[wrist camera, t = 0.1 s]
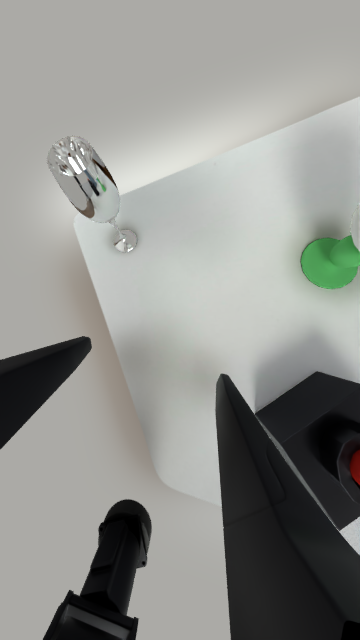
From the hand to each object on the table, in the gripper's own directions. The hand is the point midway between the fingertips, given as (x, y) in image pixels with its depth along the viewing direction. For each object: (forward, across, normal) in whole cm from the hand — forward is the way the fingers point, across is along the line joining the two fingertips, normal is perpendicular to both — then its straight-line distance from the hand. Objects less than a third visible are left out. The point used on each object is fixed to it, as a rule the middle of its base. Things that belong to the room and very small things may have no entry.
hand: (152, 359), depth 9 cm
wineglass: (+20, +13, -6) cm, 25 cm away
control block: (+8, -23, +13) cm, 27 cm away
